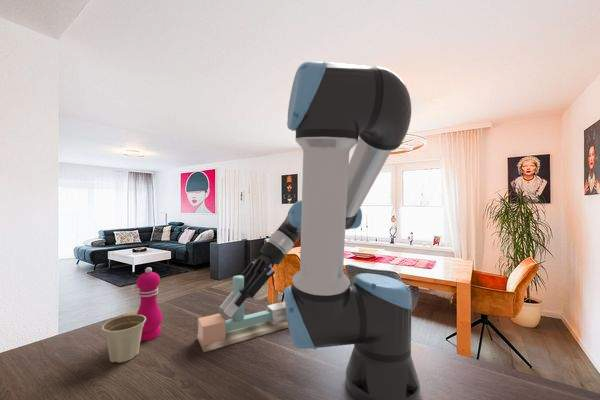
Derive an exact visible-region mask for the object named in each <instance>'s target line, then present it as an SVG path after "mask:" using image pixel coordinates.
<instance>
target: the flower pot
mask: <svg viewBox="0 0 600 400" xmlns="http://www.w3.org/2000/svg"><path fill="white" fill-rule="evenodd" d="M145 321H146V317H145V316H143V315H136V314H127V315H122V316H118V317H115V318H112V319H109V320H108V321H106V322H105V323H104V324H102V325H101V330H102V331H103V333H104V336H105V338H106V344H107V351H108V352H107V353H108V356H109V361H110V363H118V364H119V363H125V362H128V361H131V360H132V359H134V358H135V357H136V356H137V355H139V352H140V345H141V341H140V340H141V334H142V328H143V326H144V322H145Z"/></svg>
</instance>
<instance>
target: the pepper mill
mask: <svg viewBox="0 0 600 400" xmlns="http://www.w3.org/2000/svg"><path fill="white" fill-rule="evenodd" d="M160 283H161V277H160V275H159V273H156V272H154V271H153V269H152V267H149V266H148V267H146V268H145V269H144V273H141V274H140V275H139V276H138V277H137V279H136V286H137V288H138V289H139V290H138V296H139V298H140V303H139V307H138V311H137V313H136V314H135V315H143V316H145V317H146V321H145V322H144V326H143V328H142V334H141V340H140V342H145V341H150V340H154V339H156V338H157V337H159V336H160V335H161V333H162V327H161V324H162V322H163V314H162V311H161V308H160V307H159V305H158V302H157V300H158V299H157V295H158V293H159V288H158V286H159V285H160Z"/></svg>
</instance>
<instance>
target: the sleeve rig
mask: <svg viewBox="0 0 600 400" xmlns="http://www.w3.org/2000/svg"><path fill="white" fill-rule="evenodd" d="M266 310H270V311H272V320H271V321H267V322H263V323H259V324H256V325H252V326H248V327H245V328H241V329H237V330H233V331H230V332H226V333H225V340H222V341H219V342H215V343H211V344H208V345H204V346H203V345H202V343H201V341H200V339H199V337H198V333H197V337H196V338H197V341H198V343H199V345H200V348H201V350H202V352H203V353H206V352H210V351H212V350H213V351H214V350H216V349H219V348H223V347H227V346H230V345H233V344H236V343H240V342H243V341H247V340H250V339H254V338H258V337H260V336H264V335H268V334H270V333H274V332H277V331H281V330H284V329H289V327H288V321H287V315H286V307H285V301H281V302H277V303H272V304H269V305H267V304H266Z"/></svg>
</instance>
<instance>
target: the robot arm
mask: <svg viewBox="0 0 600 400" xmlns="http://www.w3.org/2000/svg"><path fill="white" fill-rule="evenodd" d="M411 118H412V99H411V96H410V93H409V90H408V88H407V85H406V84H405V82H404V81H403V79H402V78H401V77H400V76H398V74H397V73H395V72H394V71H392V70H390V69H388V68H386V67H381V66H375V65H374V66H367V65H361V64H359V65H357V64H348V63H341V62H340V63H338V62H330V61H329V62H328V61H327V60H324V61H304V62H303V63H301V64H300V65H299V66H298V67H297V70H296V72H295V75H294V78H293V82H292V85H291V90H290V96H289V102H288V109H287V122H286V125H287V128H288V129H289V130H291V131H292V132H293V131H295V142H296V143H297V144H298V145H299V146H300V147H301V148H302V150H303V151H302V153H303V157H302V180H301V181H302V186H301V187H302V188H301V200H298V201H296V202H294V204H292V205H291V207H290V208H289V209H288V212H287V215H286V217H285V219H284V220H283V222H282V223H281V224H280V225H279V227H278V228H277V229H276V230H275V231H274V232H273V234H272V235H271V236H270V237H269V238H268V241H266V242H265V243H264V244H263V246H262V247H261V248H260V249H259V250H260V253H261V254H260V256H259V257H257V259H255V258H252V259H251V260H250V262H249V263H248V265H246V267H245V269H243V270H242V273H240V275H241V276H244V289H243V290H240V291H239V293H238V294H237V295H236V297H235V298H234V299H233V290H232V291H231V292H230V293H229V295H228V296H226V298H225V300H223V302H222V303H221V304H220V306H219V308H220V309H221V310H223V312H222V313H224V314H226V315H227V316H228V317H230V318H233V314H234V313H235V312H236V311H237V309H238V308H239V307H240V306H241V304H242V303H243V302H244V303H245V301H246V299H249V298H250V299H253V298H254V297H255V295H257V293H258V292H260V290H261V288H262V287H263V286H264V285H265V284H266V282H267V281H268V280H269V279H270V278H271V277H273V276H274V274H275V273H276V272H275V270H274V269H273V268H274V266H275V265H276V266H279V265H280V264H281V262H283V260H284V259H285V257H286V255H287V254H288V253H289V252H290V251H291V250H292V248H293V247H294V246H295V244H296V243H297V242H298V240H299V239H300V252H299V253H300V254H299V255H300V256H299V270H298V271H296V273H294V275H293V276H292V277H291V278H292V279H291V286H290V285H289V286H286V287H284V289H283V297H284V299H283V300H284V302H285V307H286V315H287V321H288V331H289V336H290V337H289V338H290V341H291V344H292V345H293V346H294V347H295V348H297V349H299V350H300V349H301V350H303V349H306V350H307V349H313V350H317V349H318V348H328V347H339V346H340V347H341V346H348V345H353V349H352V351H351V355H350V356H349V359H348V363H347V365H346V370H345V384H346V388H347V390H348V392H349V394H350V395H351V396H352V398H353V399H355V400H420V399H421V383H420V379H419V376H418V372H417V371H416V367H415V364H414V360H413V357H412V309H413V304H412V292H411V289H410V288H409V286H407V284H405V283H404V282H403V281H400V280H399V279H395V278H393V277H390V276H387V275H382V274H377V273H367V272H365V273H364V272H362V273H358V274H356V275H354V278H353V282H352V283H351V281H350V278H349V277H348V276H347V275H346V274H345V273H344V258H345V241H346V240H345V237H346V230H352V229H353V230H354V229H355V230H356V229H358V228H359V227H361V224H362V221H363V212H362V209H361V207H362V205H363V203H364V201H365V199H366V198H367V196H368V194H369V192H370V190H371V188H372V187H373V185H374V183H375V181H376V179H377V177H378V176H379V174H380V172H381V171H382V169H383V166H384V165H385V163H386V162H387V160H388V158H389V156H390V155H391V153H392V151H395V150H397V149H399V147H400V146H401V145H402V144H403V143H402V142H403V141H404V140H405V138H406V136H407V134H408V131H409V129H410V124H411ZM354 146H355V148H354ZM353 148H354V149H353ZM351 149H353V150H354V151H353V152H352V156H351V157H350V151H351Z"/></svg>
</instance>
